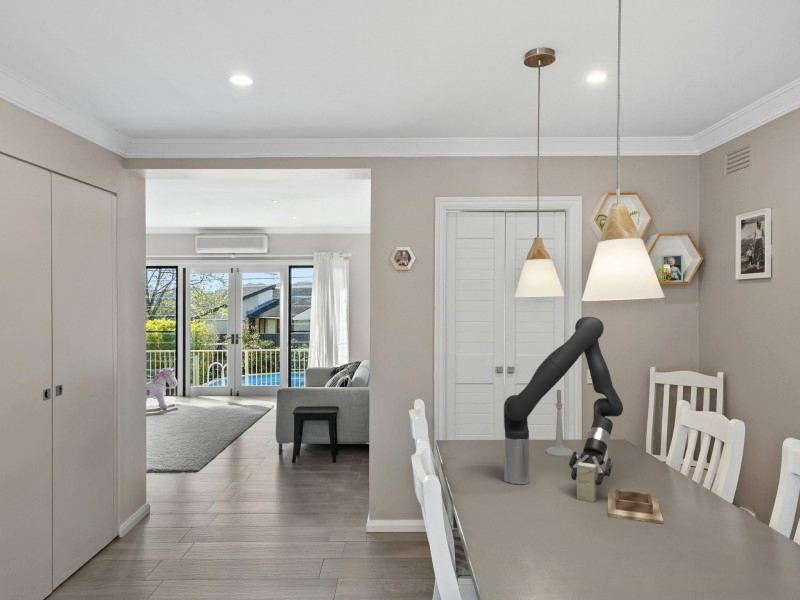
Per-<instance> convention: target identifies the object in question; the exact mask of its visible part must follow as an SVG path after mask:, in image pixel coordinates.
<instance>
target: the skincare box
mask: <svg viewBox="0 0 800 600" xmlns="http://www.w3.org/2000/svg"><path fill="white" fill-rule="evenodd" d="M577 462H578V461H577ZM596 479H597V468H596V465H595V464H589V463H582V462H578V464H577V477H576V499H577V500H581V501H586V502H592V503H594V502H596V499H597V485H596Z"/></svg>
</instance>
